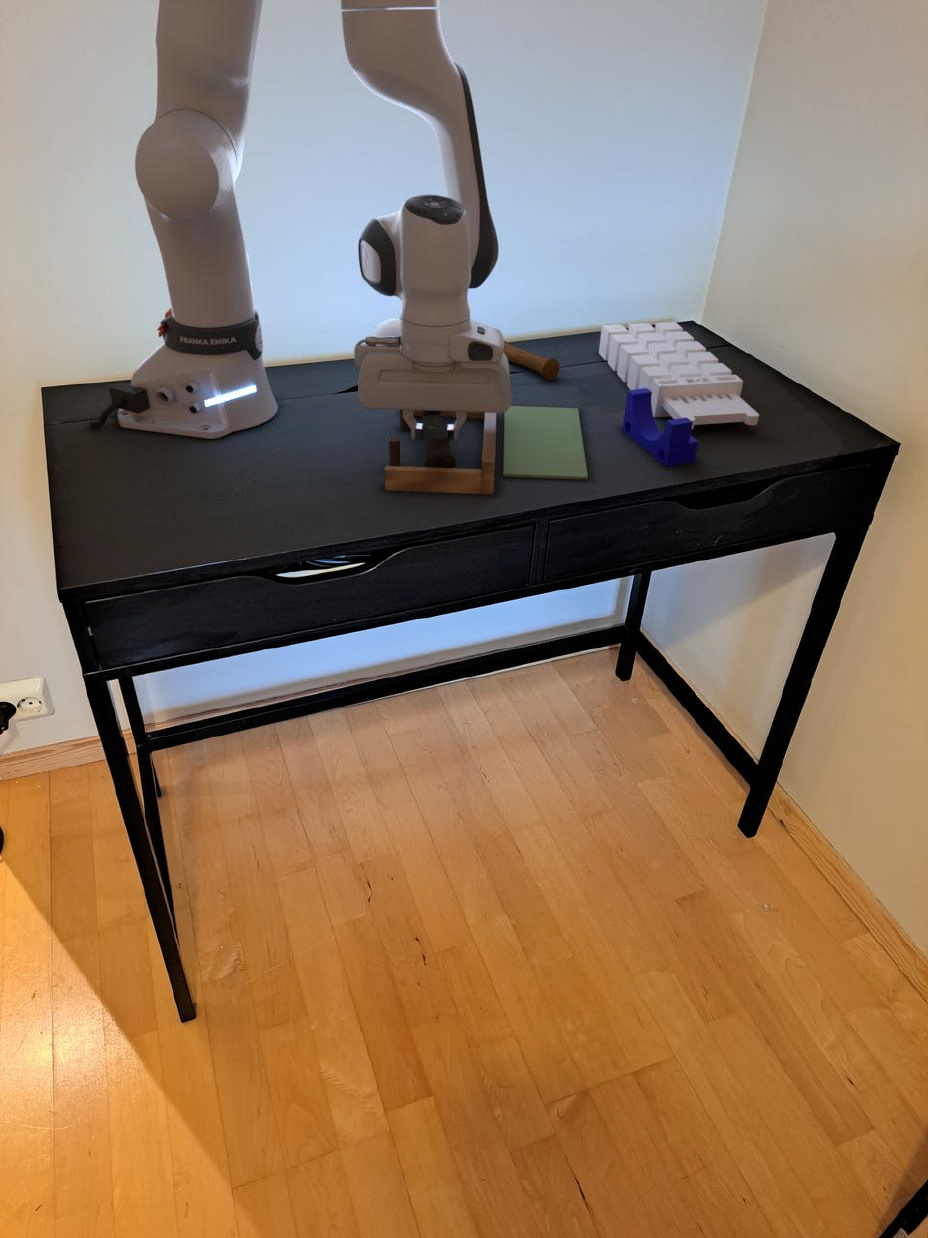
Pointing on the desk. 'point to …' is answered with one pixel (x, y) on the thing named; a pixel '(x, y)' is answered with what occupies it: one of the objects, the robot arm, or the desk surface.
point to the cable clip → (658, 431)
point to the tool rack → (444, 477)
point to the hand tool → (436, 441)
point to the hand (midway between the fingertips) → (435, 438)
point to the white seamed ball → (388, 329)
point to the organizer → (675, 373)
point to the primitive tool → (532, 361)
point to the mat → (543, 443)
